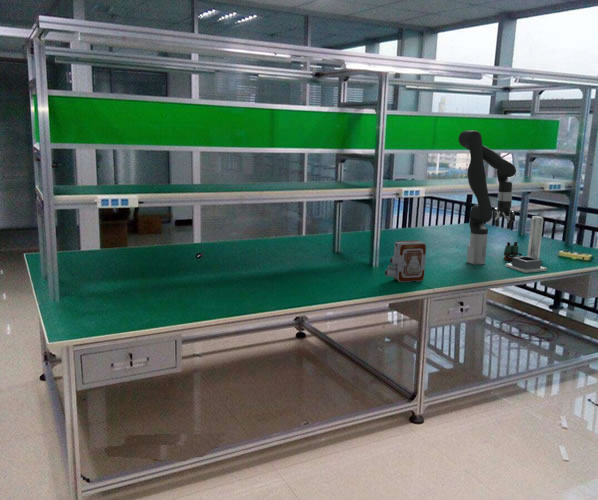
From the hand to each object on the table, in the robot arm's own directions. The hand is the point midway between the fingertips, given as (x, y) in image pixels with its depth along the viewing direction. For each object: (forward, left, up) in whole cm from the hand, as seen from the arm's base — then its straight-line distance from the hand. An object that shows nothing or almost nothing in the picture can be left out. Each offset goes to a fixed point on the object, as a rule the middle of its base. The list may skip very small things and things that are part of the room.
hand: (502, 227), depth 318 cm
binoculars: (+9, -1, -20) cm, 22 cm away
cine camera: (-76, -20, -20) cm, 82 cm away
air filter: (+25, 0, -20) cm, 32 cm away
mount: (+2, -19, -20) cm, 27 cm away
